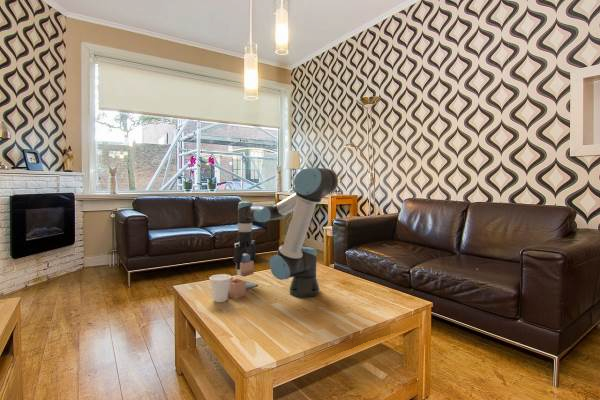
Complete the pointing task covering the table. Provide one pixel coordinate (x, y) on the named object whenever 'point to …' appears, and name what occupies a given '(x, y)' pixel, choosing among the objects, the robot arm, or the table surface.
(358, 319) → the table surface
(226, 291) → the cup
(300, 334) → the table surface
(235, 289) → the pot
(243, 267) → the pot
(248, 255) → the blue rectangular block
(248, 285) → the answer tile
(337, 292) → the table surface
